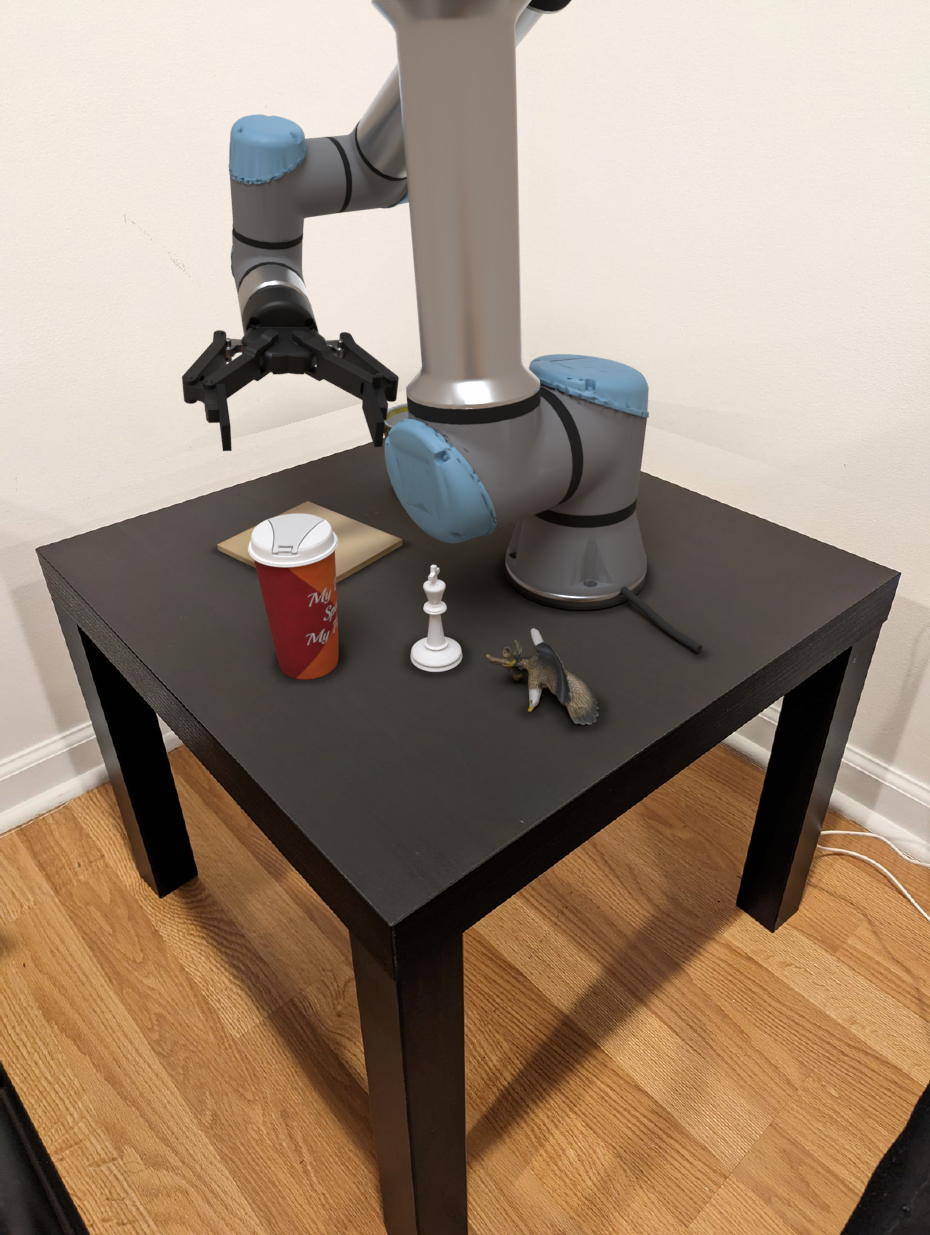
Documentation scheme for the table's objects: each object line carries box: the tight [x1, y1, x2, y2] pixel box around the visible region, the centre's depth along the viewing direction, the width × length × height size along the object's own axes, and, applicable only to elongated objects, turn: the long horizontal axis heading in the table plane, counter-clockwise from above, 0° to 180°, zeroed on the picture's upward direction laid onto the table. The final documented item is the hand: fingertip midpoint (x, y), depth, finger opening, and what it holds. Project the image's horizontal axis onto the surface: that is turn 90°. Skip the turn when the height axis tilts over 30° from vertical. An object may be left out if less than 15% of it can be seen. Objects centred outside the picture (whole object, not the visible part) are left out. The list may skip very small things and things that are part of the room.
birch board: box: [216, 500, 404, 584], centre depth 100 cm, size 16×14×1 cm
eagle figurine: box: [485, 627, 600, 726], centre depth 75 cm, size 8×7×9 cm
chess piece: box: [410, 564, 463, 673], centre depth 80 cm, size 5×5×10 cm
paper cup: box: [248, 514, 340, 680], centre depth 78 cm, size 8×8×14 cm
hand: (305, 436), depth 78 cm, fingers open, 13 cm apart
